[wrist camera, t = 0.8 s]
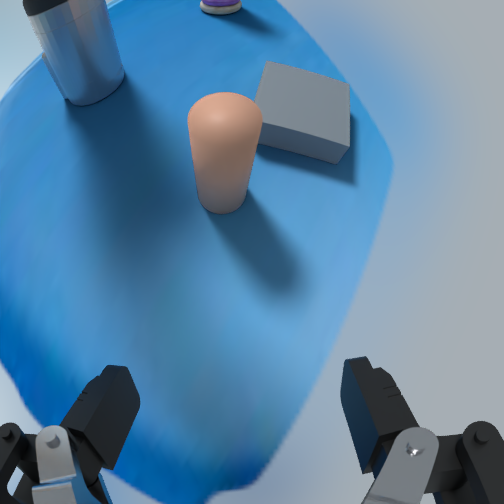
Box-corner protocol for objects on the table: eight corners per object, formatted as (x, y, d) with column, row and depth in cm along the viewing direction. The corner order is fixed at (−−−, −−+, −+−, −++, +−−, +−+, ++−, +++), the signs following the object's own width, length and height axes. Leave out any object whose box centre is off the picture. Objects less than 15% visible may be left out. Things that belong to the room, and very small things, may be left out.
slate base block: (245, 140, 31) (248, 119, 27) (262, 81, 33) (266, 60, 29) (336, 164, 31) (349, 146, 27) (339, 102, 34) (349, 84, 30)
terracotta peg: (192, 208, 28) (177, 139, 16) (204, 166, 29) (200, 87, 18) (240, 218, 28) (254, 154, 17) (250, 176, 30) (268, 99, 18)
